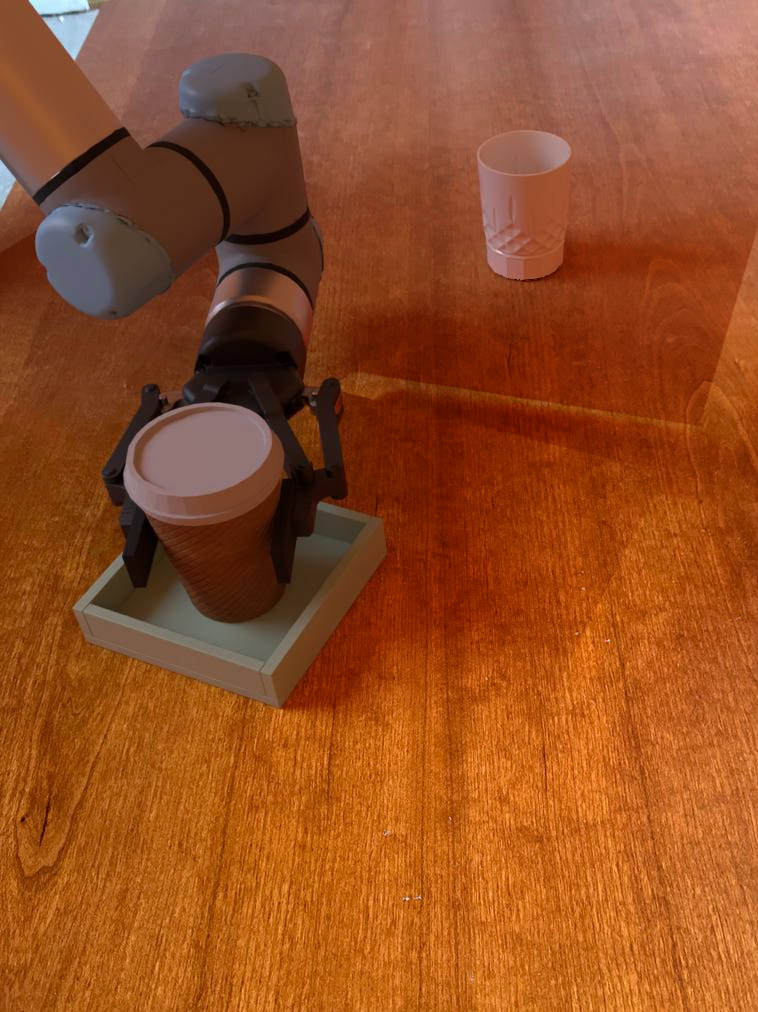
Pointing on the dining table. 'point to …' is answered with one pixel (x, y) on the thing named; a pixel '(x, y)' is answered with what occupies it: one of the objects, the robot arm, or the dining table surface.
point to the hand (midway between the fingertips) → (207, 569)
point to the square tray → (249, 644)
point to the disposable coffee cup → (212, 503)
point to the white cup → (524, 201)
